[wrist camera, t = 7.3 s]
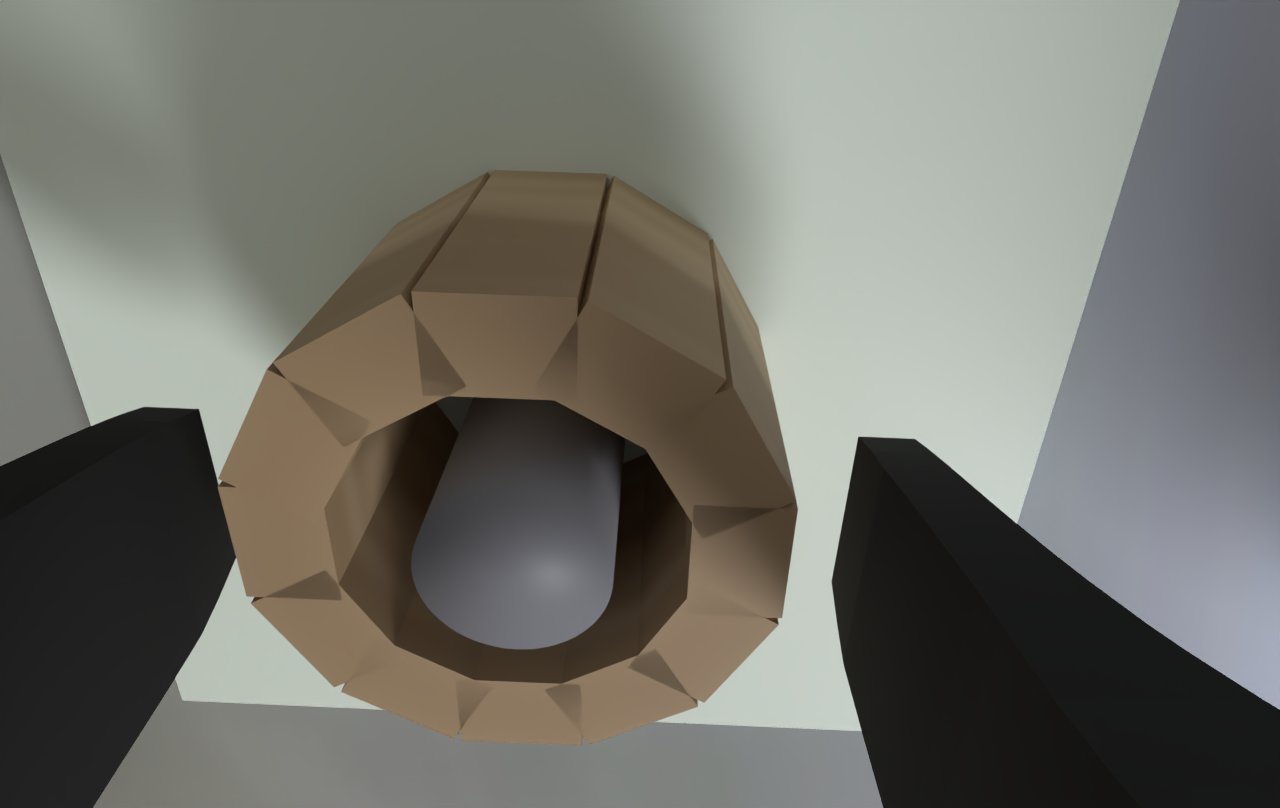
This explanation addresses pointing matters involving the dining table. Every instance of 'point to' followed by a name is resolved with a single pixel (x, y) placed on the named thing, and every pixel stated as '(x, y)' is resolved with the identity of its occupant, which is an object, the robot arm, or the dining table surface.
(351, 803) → the dining table surface
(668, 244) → the bead
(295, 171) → the white board with peg
